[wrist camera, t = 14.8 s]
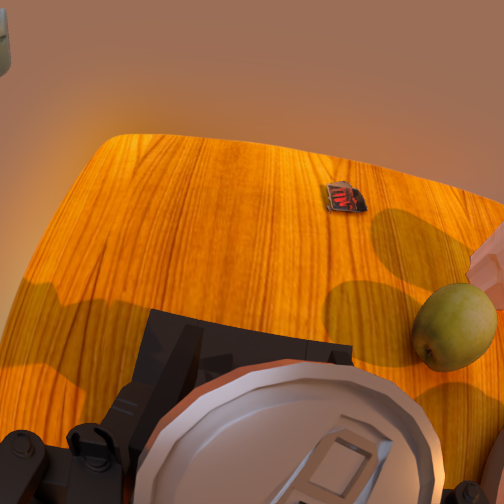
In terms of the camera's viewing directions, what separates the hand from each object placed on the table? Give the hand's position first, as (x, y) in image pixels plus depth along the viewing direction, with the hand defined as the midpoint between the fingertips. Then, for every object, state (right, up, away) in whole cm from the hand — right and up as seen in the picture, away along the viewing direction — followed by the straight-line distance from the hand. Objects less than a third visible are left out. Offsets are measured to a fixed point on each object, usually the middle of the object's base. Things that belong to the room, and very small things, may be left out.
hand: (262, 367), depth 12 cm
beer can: (-1, -5, +1) cm, 5 cm away
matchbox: (+10, +11, +21) cm, 26 cm away
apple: (+17, -4, +14) cm, 22 cm away
